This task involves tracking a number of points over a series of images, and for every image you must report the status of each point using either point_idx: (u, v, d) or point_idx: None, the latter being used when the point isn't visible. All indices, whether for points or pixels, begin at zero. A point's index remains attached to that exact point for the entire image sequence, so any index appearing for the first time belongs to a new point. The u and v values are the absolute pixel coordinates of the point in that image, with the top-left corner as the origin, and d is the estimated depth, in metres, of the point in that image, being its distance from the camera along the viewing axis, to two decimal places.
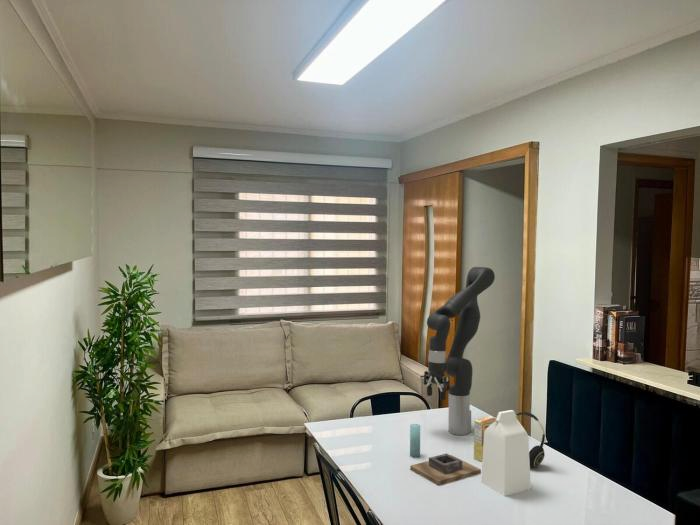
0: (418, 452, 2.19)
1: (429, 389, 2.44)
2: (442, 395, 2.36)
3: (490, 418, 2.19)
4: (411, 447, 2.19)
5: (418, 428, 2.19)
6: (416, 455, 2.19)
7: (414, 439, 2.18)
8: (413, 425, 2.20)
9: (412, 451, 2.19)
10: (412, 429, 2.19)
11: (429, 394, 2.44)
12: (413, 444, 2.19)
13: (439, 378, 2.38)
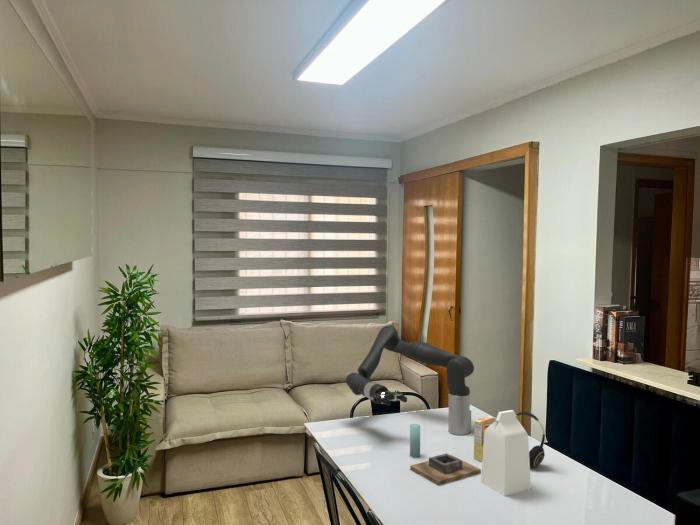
0: (418, 452, 2.19)
1: None
2: None
3: (490, 418, 2.19)
4: (411, 447, 2.19)
5: (418, 428, 2.19)
6: (416, 455, 2.19)
7: (414, 439, 2.18)
8: (413, 425, 2.20)
9: (412, 451, 2.19)
10: (412, 429, 2.19)
11: None
12: (413, 444, 2.19)
13: None
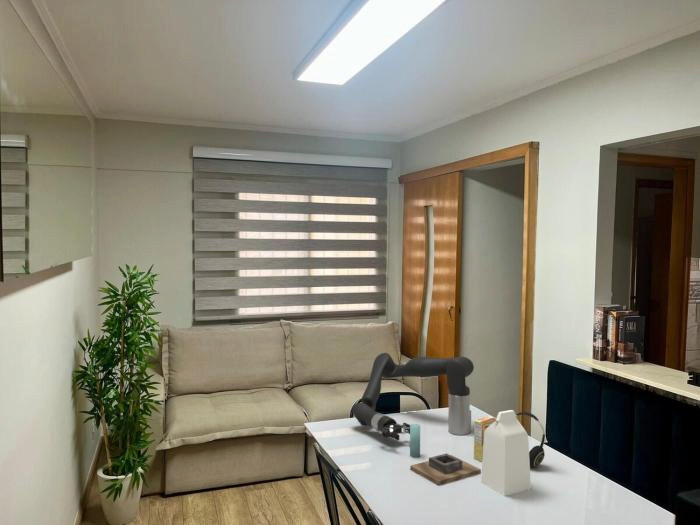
0: (418, 452, 2.19)
1: None
2: None
3: (490, 418, 2.19)
4: (411, 447, 2.19)
5: (418, 428, 2.19)
6: (416, 455, 2.19)
7: (414, 439, 2.18)
8: (413, 425, 2.20)
9: (412, 451, 2.19)
10: (412, 429, 2.19)
11: None
12: (413, 444, 2.19)
13: (399, 425, 2.34)
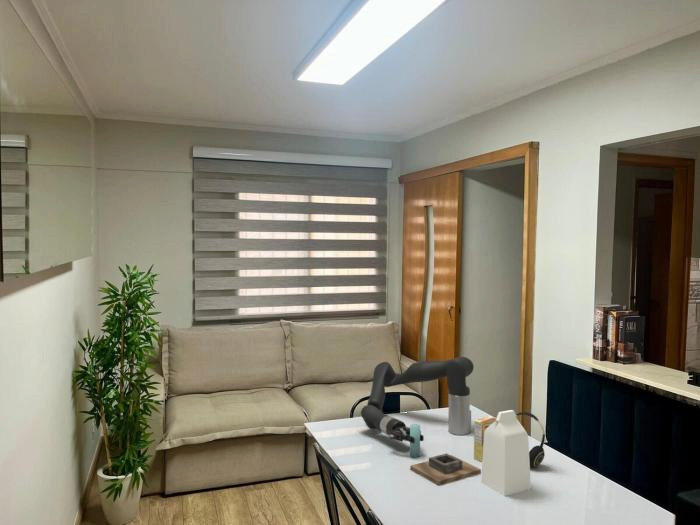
0: (418, 452, 2.19)
1: None
2: (420, 434, 2.22)
3: (490, 418, 2.19)
4: (411, 447, 2.19)
5: (418, 428, 2.19)
6: (416, 455, 2.19)
7: (414, 439, 2.18)
8: (413, 425, 2.20)
9: (412, 451, 2.19)
10: (412, 429, 2.19)
11: None
12: (413, 444, 2.19)
13: None
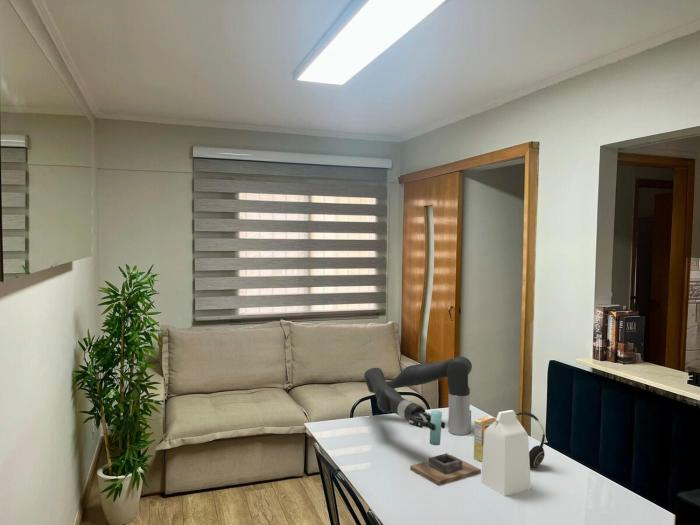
0: (438, 440, 2.07)
1: None
2: None
3: (490, 418, 2.19)
4: (431, 434, 2.08)
5: (440, 415, 2.06)
6: (436, 443, 2.07)
7: None
8: (434, 411, 2.08)
9: (432, 439, 2.07)
10: (433, 416, 2.07)
11: None
12: (433, 432, 2.07)
13: None
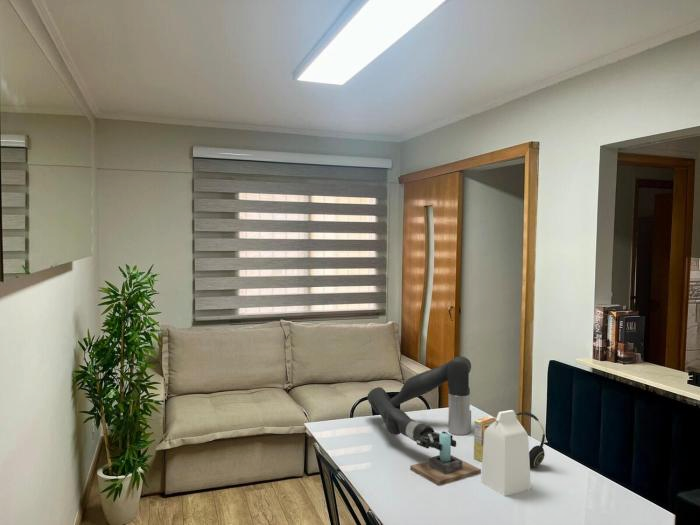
0: None
1: None
2: (452, 440, 2.08)
3: (490, 418, 2.19)
4: (441, 458, 2.04)
5: (448, 438, 2.03)
6: None
7: (444, 449, 2.03)
8: (443, 435, 2.05)
9: None
10: (442, 439, 2.03)
11: None
12: (443, 455, 2.03)
13: None
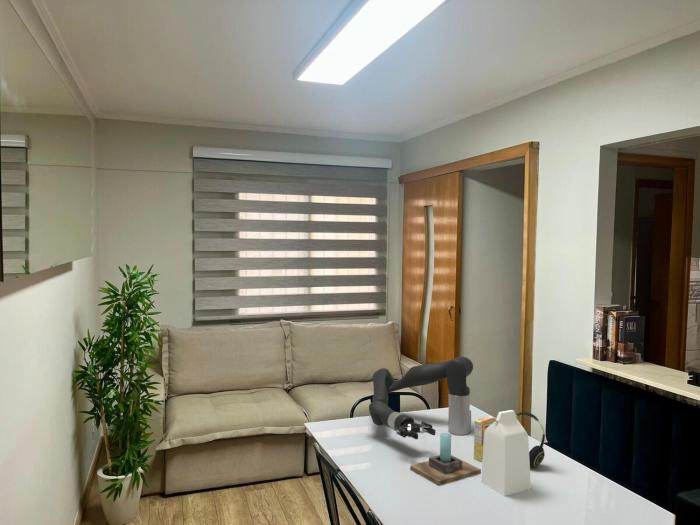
0: None
1: None
2: (432, 429, 2.19)
3: (490, 418, 2.19)
4: (441, 458, 2.04)
5: (449, 438, 2.03)
6: None
7: (445, 449, 2.03)
8: (443, 434, 2.05)
9: None
10: (443, 439, 2.04)
11: None
12: (443, 455, 2.03)
13: (417, 424, 2.24)
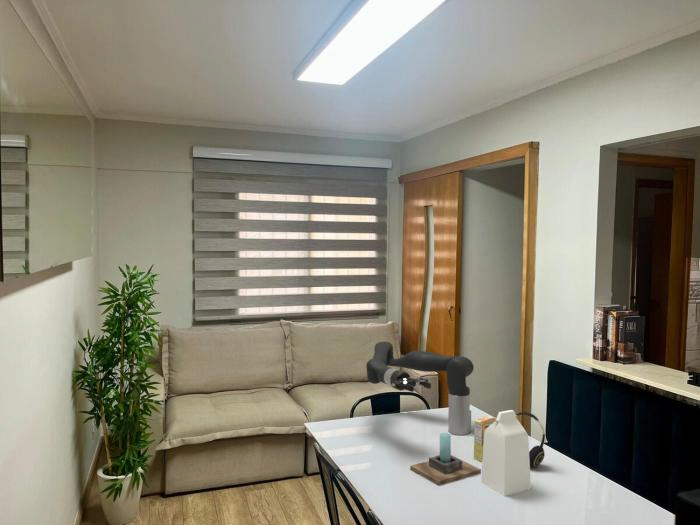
0: None
1: None
2: None
3: (490, 418, 2.19)
4: (441, 458, 2.04)
5: (448, 437, 2.04)
6: None
7: (444, 449, 2.03)
8: (443, 434, 2.05)
9: None
10: (442, 439, 2.04)
11: None
12: (443, 455, 2.03)
13: None
